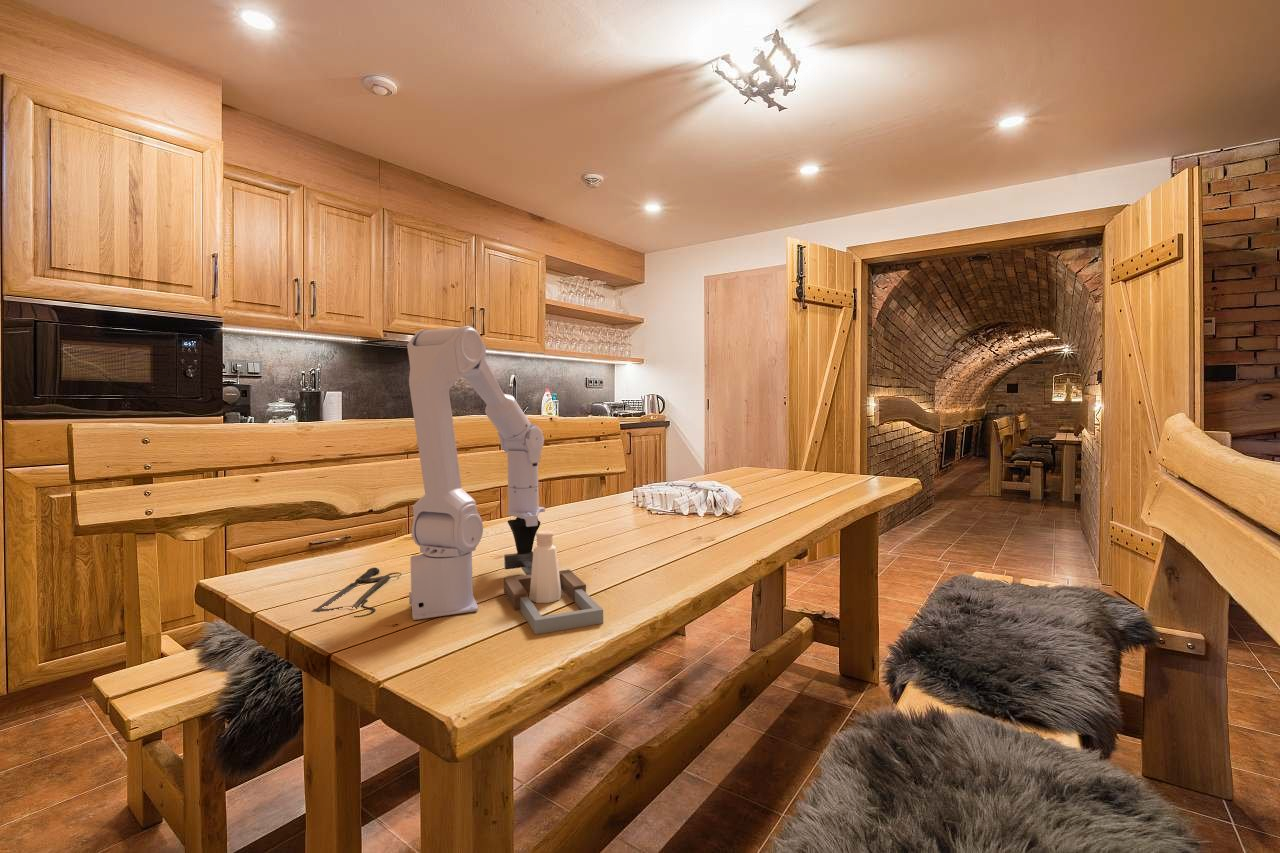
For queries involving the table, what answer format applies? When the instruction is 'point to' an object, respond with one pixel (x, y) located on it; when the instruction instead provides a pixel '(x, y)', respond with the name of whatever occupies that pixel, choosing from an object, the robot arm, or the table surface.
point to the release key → (519, 561)
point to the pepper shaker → (545, 570)
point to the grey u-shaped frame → (563, 615)
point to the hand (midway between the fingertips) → (524, 556)
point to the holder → (521, 584)
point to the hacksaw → (362, 599)
